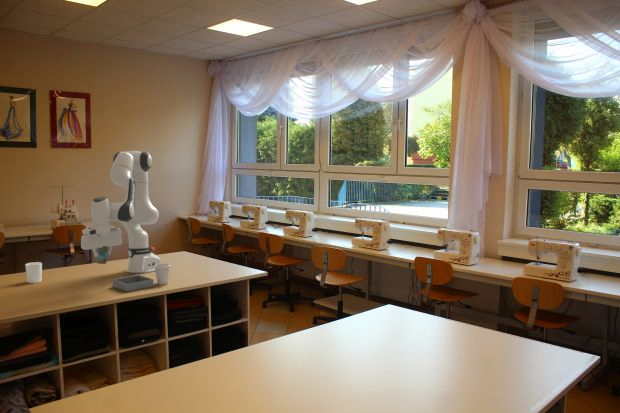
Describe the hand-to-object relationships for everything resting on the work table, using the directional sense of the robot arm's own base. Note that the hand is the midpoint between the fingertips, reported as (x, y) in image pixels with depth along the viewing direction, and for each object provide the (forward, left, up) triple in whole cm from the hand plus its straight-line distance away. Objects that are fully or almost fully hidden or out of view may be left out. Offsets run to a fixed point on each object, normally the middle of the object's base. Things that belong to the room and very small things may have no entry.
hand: (102, 255), depth 256 cm
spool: (+1, 0, -4) cm, 4 cm away
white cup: (+19, -42, -17) cm, 49 cm away
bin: (-12, +8, -17) cm, 22 cm away
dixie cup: (-27, +12, -17) cm, 34 cm away
